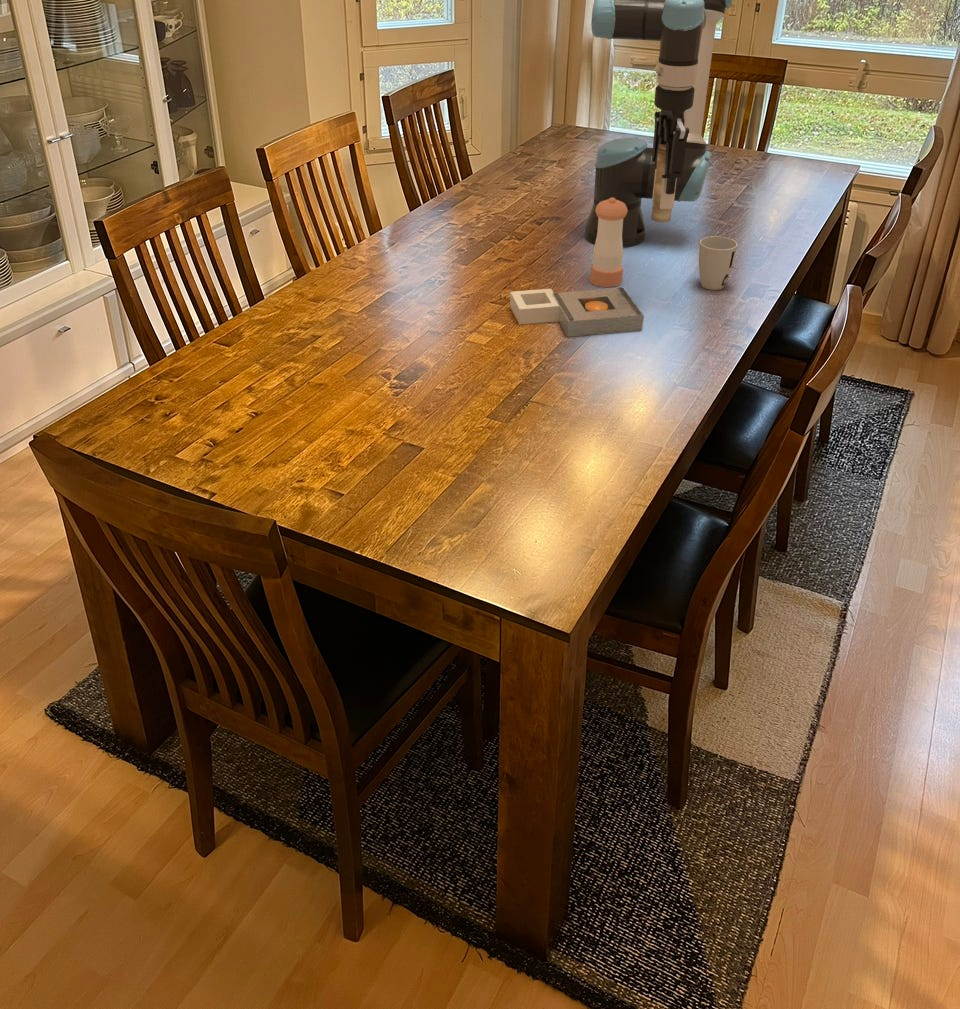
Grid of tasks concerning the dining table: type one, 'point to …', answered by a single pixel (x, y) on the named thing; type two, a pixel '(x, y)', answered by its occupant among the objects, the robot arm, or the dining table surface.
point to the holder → (534, 306)
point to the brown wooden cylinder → (660, 188)
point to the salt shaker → (608, 244)
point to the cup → (716, 261)
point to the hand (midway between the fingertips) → (662, 204)
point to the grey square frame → (598, 312)
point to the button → (595, 306)
